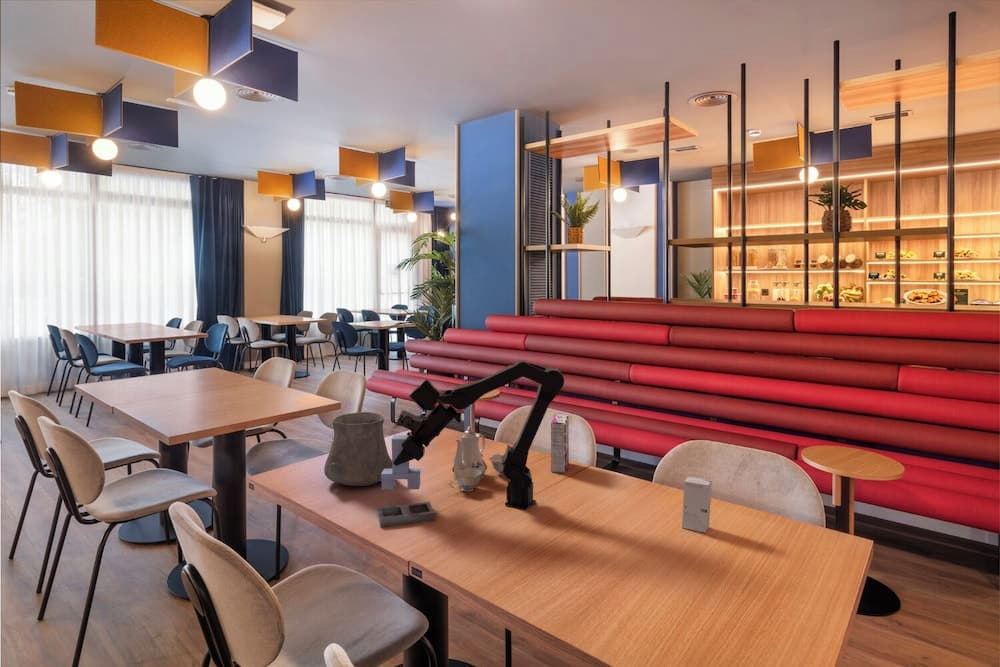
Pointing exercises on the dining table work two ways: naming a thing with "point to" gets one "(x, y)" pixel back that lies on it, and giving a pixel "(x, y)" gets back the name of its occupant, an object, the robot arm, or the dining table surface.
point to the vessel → (357, 450)
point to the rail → (405, 514)
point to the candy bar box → (559, 443)
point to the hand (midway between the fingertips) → (395, 462)
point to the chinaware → (472, 461)
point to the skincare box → (696, 504)
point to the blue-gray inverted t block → (399, 468)
